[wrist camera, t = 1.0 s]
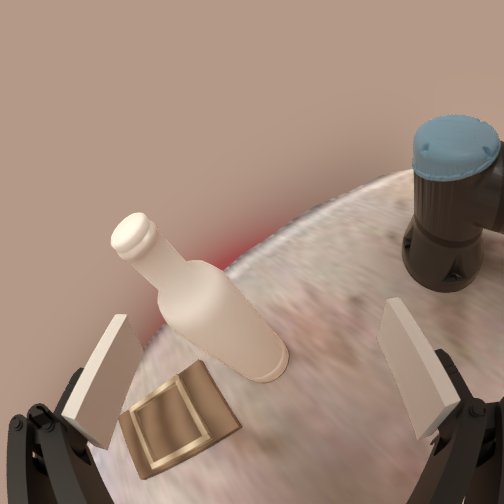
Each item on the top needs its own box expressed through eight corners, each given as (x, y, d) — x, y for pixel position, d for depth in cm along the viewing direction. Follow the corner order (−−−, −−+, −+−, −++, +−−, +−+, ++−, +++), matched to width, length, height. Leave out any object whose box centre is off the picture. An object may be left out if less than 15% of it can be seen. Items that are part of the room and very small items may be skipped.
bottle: (296, 340, 40) (184, 185, 19) (280, 388, 36) (126, 274, 15) (250, 332, 44) (125, 198, 23) (234, 376, 40) (78, 266, 19)
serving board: (202, 361, 44) (195, 357, 42) (242, 427, 34) (235, 425, 32) (121, 418, 41) (113, 415, 39) (145, 479, 31) (136, 479, 29)
